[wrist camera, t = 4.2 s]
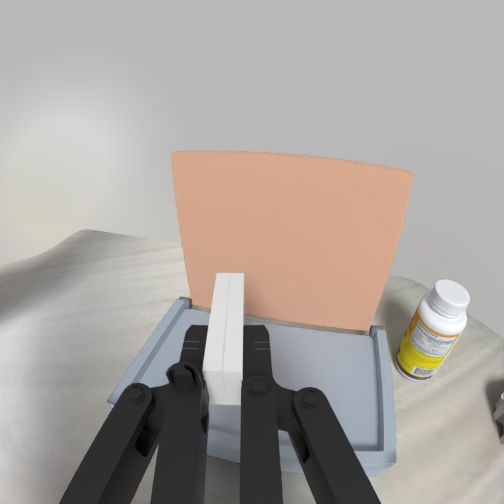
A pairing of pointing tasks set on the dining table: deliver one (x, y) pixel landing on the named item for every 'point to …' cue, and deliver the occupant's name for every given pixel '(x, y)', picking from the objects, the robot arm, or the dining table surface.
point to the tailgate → (291, 231)
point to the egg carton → (500, 415)
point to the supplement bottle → (433, 331)
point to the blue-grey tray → (292, 384)
